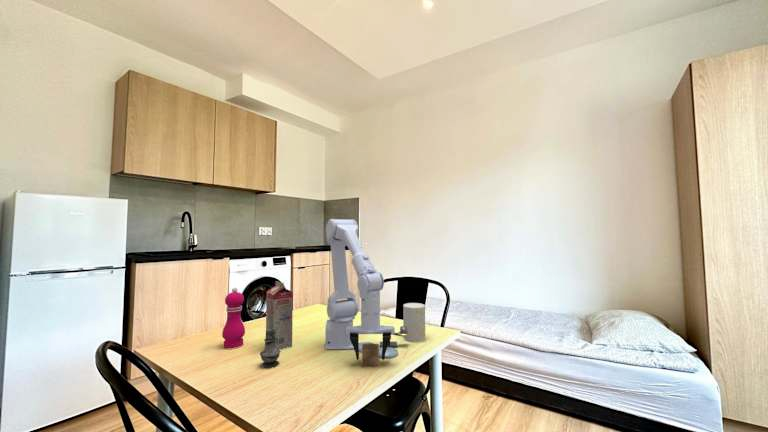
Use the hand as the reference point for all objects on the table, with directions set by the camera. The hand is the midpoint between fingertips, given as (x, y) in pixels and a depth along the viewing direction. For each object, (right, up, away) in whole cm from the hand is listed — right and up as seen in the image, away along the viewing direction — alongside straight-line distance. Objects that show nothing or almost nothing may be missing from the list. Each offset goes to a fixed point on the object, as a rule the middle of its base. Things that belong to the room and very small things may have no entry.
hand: (370, 358), depth 94 cm
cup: (+15, -3, +22) cm, 27 cm away
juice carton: (-32, -2, +14) cm, 35 cm away
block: (0, -2, 0) cm, 2 cm away
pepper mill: (-48, -2, +15) cm, 51 cm away
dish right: (+5, -2, +7) cm, 9 cm away
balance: (+6, -2, +14) cm, 15 cm away
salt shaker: (-30, -2, -1) cm, 30 cm away
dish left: (-2, -2, +12) cm, 12 cm away
